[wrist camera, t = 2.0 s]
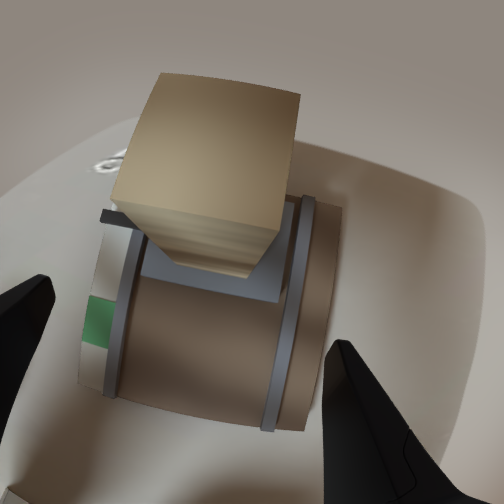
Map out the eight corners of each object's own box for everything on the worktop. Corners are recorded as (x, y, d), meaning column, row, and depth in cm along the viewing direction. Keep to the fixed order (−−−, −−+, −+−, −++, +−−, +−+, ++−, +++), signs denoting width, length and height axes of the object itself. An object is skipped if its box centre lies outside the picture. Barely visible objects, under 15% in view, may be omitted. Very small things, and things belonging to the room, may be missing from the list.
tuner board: (298, 423, 18) (306, 434, 16) (87, 378, 18) (74, 384, 16) (334, 214, 21) (345, 204, 19) (131, 174, 21) (123, 162, 19)
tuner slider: (275, 303, 18) (357, 291, 7) (95, 264, 18) (-35, 208, 6) (291, 208, 19) (367, 89, 8) (120, 177, 19) (39, 57, 7)
